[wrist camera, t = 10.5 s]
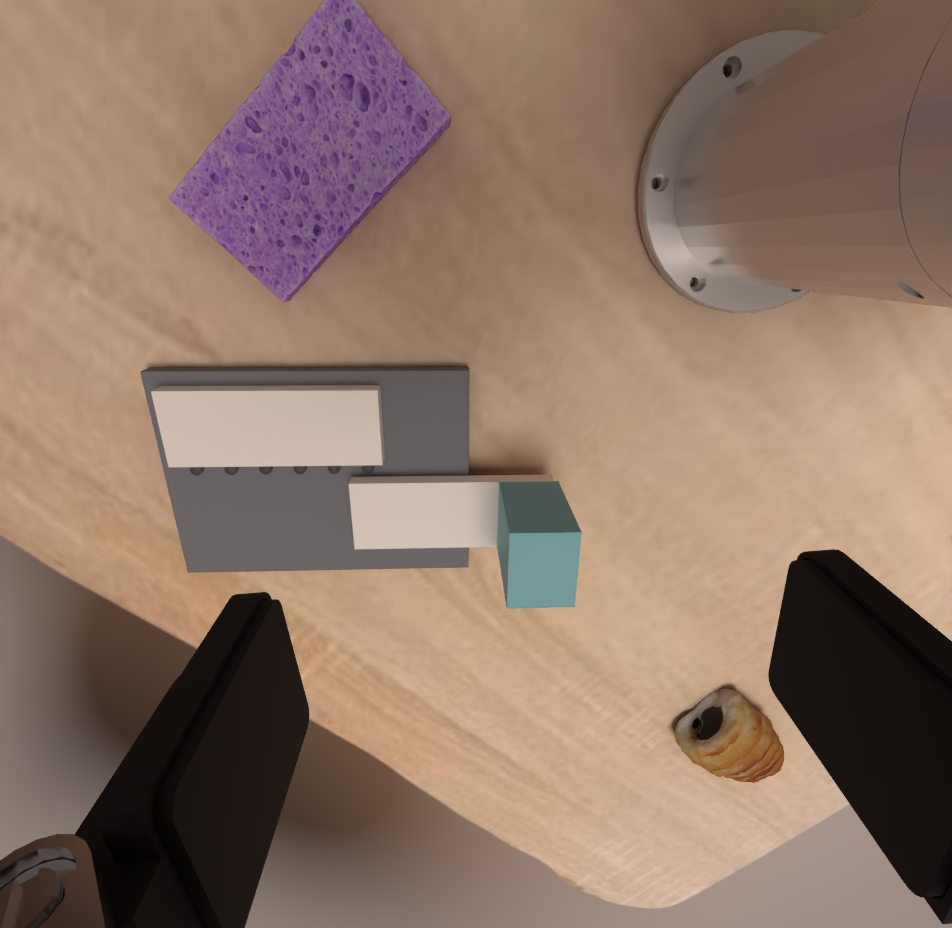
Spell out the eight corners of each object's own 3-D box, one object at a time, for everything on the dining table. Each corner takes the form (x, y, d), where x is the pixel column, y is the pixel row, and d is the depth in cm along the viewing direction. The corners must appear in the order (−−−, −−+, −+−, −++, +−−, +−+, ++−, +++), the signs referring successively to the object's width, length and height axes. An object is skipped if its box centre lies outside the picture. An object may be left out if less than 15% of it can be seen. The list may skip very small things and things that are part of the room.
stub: (555, 474, 32) (581, 532, 26) (550, 537, 34) (574, 606, 27) (351, 476, 31) (325, 536, 25) (357, 540, 33) (334, 612, 27)
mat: (468, 367, 31) (468, 370, 30) (467, 558, 35) (468, 567, 35) (149, 367, 30) (140, 371, 29) (195, 563, 35) (188, 572, 34)
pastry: (793, 731, 44) (823, 774, 40) (728, 775, 45) (752, 820, 42) (724, 676, 41) (749, 716, 37) (658, 725, 43) (677, 768, 39)
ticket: (380, 385, 30) (377, 390, 29) (385, 471, 32) (383, 479, 31) (162, 385, 29) (150, 391, 28) (181, 473, 31) (172, 482, 30)
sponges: (452, 125, 26) (452, 116, 25) (289, 304, 29) (279, 307, 28) (346, -6, 24) (338, -26, 23) (182, 201, 27) (163, 198, 25)
